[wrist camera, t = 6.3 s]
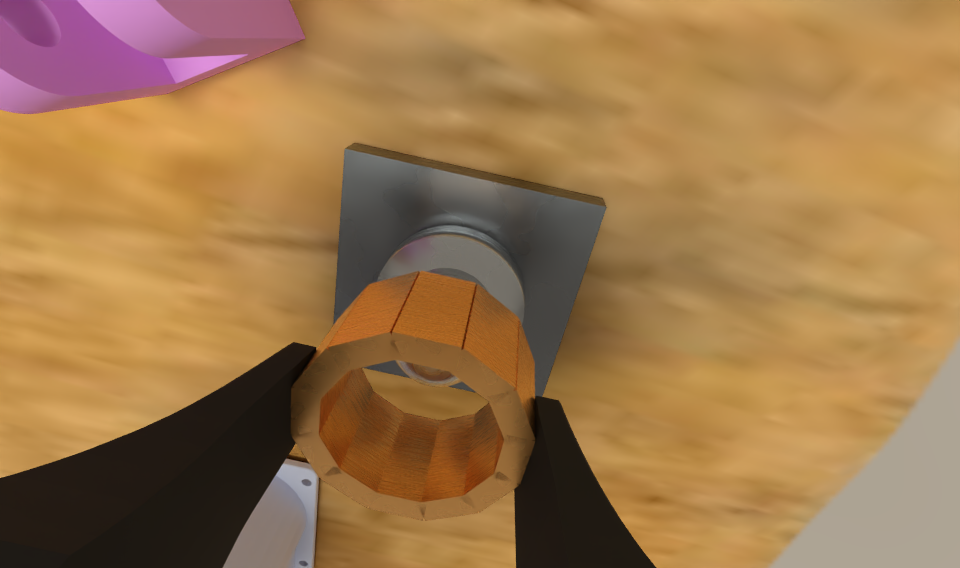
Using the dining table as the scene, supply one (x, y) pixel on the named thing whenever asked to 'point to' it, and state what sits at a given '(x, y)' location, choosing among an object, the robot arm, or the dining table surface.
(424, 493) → the wooden ring
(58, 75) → the bracket
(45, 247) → the dining table surface
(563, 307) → the stand
